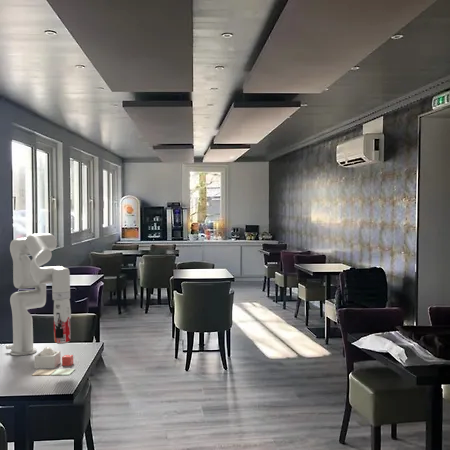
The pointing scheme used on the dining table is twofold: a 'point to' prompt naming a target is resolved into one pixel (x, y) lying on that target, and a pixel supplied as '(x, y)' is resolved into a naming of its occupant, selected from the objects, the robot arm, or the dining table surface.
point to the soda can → (65, 333)
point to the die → (67, 360)
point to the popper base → (47, 360)
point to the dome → (47, 352)
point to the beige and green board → (53, 372)
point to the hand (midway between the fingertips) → (62, 335)
